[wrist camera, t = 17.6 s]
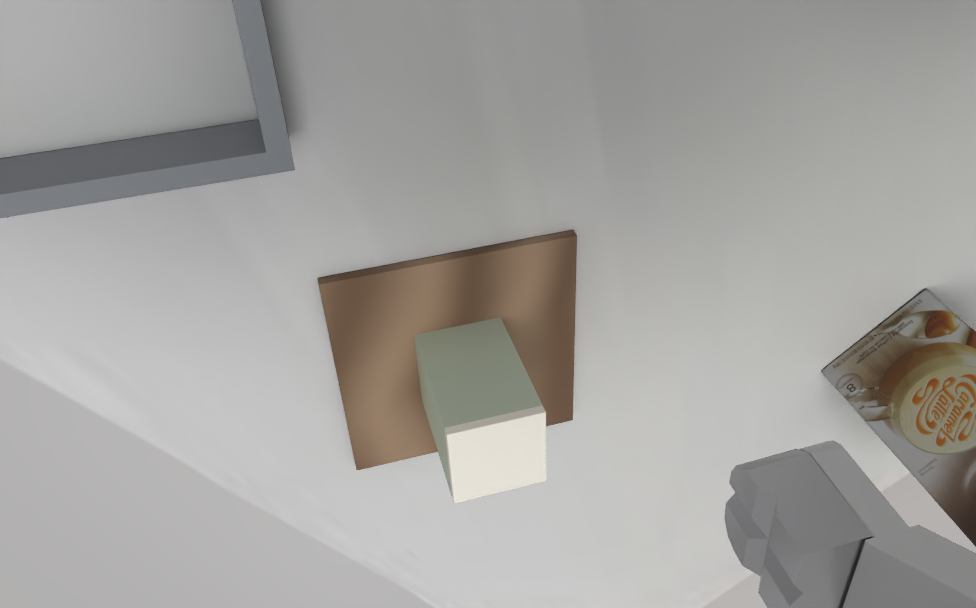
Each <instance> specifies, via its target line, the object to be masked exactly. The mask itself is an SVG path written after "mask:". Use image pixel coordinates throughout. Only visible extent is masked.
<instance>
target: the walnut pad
mask: <svg viewBox="0 0 976 608" xmlns="http://www.w3.org/2000/svg"><path fill="white" fill-rule="evenodd" d="M576 248H577V235H576V234H575V232H574V231H573V230H571V231H566V232H560V233H555V234H550V235H544V236H539V237H534V238H528V239H523V240H518V241H513V242H507V243H502V244H497V245H491V246H486V247H481V248H475V249H470V250H465V251H460V252H454V253H449V254H444V255H438V256H433V257H428V258H422V259H417V260H412V261H407V262H401V263H396V264H391V265H385V266H380V267H375V268H370V269H364V270H359V271H354V272H348V273H343V274H338V275H332V276H327V277H322V278H318V283H319V288H320V293H321V298H322V303H323V308H324V313H325V318H326V322H327V327H328V332H329V337H330V342H331V347H332V352H333V356H334V361H335V366H336V371H337V376H338V381H339V386H340V391H341V395H342V400H343V405H344V410H345V415H346V420H347V425H348V430H349V434H350V439H351V444H352V449H353V454H354V459H355V464H356V469H357V470H361V469H365V468H369V467H374V466H378V465H382V464H387V463H391V462H395V461H399V460H404V459H408V458H412V457H416V456H421V455H425V454H429V453H434V452H438V450H437V447H436V443H435V440H434V437H433V434H432V431H431V427H430V424H429V421H428V418H427V414H426V411H425V408H424V405H423V402H422V395H421V387H420V379H419V371H418V363H417V355H416V347H415V339H414V335H417V334H422V333H427V332H432V331H437V330H441V329H446V328H451V327H456V326H461V325H466V324H471V323H475V322H480V321H485V320H490V319H495V318H500V317H501V319H502V321H503V323H504V326H505V328H506V330H507V332H508V334H509V336H510V338H511V340H512V342H513V344H514V346H515V349H516V351H517V353H518V355H519V357H520V359H521V361H522V363H523V365H524V367H525V369H526V372H527V374H528V376H529V378H530V380H531V382H532V384H533V386H534V388H535V390H536V393H537V395H538V397H539V399H540V401H541V403H542V405H543V407H544V409H545V411H546V426H549V425H553V424H558V423H562V422H566V421H570V420H573V381H574V337H575V292H576Z"/></svg>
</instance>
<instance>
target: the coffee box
mask: <svg viewBox="0 0 976 608" xmlns="http://www.w3.org/2000/svg"><path fill="white" fill-rule="evenodd" d="M822 373H823V375H824V376H825V377H826V378H827V379H828V380H829V381H830V382H831V383H832V385H833V386H834V387H835V388H836V389H837V390H838V391H839V392H840V393H841V395H842V396H843V397H844V398H845V399H846V400H847V401H848V402H849V404H850V405H851V406H852V407H853V408H854V409H855V411H856V412H857V413H858V414H859V415H860V416H861V417H862V419H863V420H864V421H865V422H866V423H867V424H868V425H869V426H870V428H871V429H872V430H873V431H874V432H875V433H876V434H877V435H878V437H879V438H880V439H881V440H882V441H883V442H884V443H885V445H886V446H887V447H888V448H889V449H890V450H891V451H892V452H893V453H894V454H895V456H896V457H897V458H898V459H899V460H900V461H901V462H902V463H903V465H904V466H905V467H906V468H907V469H908V470H909V471H910V472H911V474H912V475H913V476H914V477H915V478H916V479H917V480H918V481H919V483H920V484H921V485H922V486H923V487H924V488H925V489H926V491H927V492H928V493H929V494H930V495H931V496H932V497H933V499H934V500H935V501H936V502H937V503H938V504H939V506H940V507H941V508H942V509H943V510H944V511H945V512H946V513H947V515H948V516H949V517H950V518H951V519H952V520H953V521H954V522H955V523H956V525H957V526H958V527H959V528H960V529H961V530H962V532H963V533H964V534H965V535H966V536H967V537H968V538H969V539H970V541H971V542H972V543H973V544H974V545H975V546H976V331H974V330H973V329H972V328H971V327H969V326H968V325H967V324H966V323H965V322H963V321H962V320H961V319H960V318H959V317H957V316H956V315H955V314H954V313H952V312H951V311H950V310H949V309H948V308H947V307H946V306H945V305H944V304H943V303H942V302H941V301H939V300H938V299H937V298H936V297H935V296H934V294H933V293H931V292H930V291H929V290H924V291H923V292H922V293H920V294H919V295H918V296H916V297H915V298H914V299H913V300H911V301H910V302H909V303H907V304H906V305H905V306H904V307H902V308H901V309H900V310H898V311H897V312H896V313H895V314H893V315H892V316H891V317H889V318H888V319H887V320H886V321H884V322H883V323H882V324H881V325H879V326H878V327H877V328H876V329H874V330H873V331H872V332H870V333H869V334H868V335H867V336H865V337H864V338H863V339H861V340H860V341H859V342H858V343H856V344H855V345H854V346H852V347H851V348H850V349H849V350H847V351H846V352H845V353H844V354H842V355H841V356H840V357H838V358H837V359H836V360H835V361H833V362H832V363H831V364H829V365H828V366H827V367H826V368H825V369H824V370H823V371H822Z"/></svg>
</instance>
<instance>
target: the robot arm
mask: <svg viewBox="0 0 976 608" xmlns="http://www.w3.org/2000/svg"><path fill="white" fill-rule="evenodd" d="M729 483H730V485H731V486H732V488H733V489H734V491H735V494H734V495H733V496H732V497H731V498H730V499H729V500H728V502H727V503H726V509H725V523H726V528H727V533H728V537H729V540H730V542H731V545H732V547H733V549H734V552H735V553H736V555H737V557H738V559H739V560H740V562H741V564H742V565H743V566H744V567H746V568H747V569H749V570H751V571H753V572H754V573H756V574H758V575H759V576H760V584H759V591H758V593H759V594H760V596H761V597H762V599H763V601H764V602H765V604H766V606H767V608H976V553H974V552H972V551H970V550H968V549H966V548H964V547H962V546H960V545H958V544H956V543H954V542H952V541H950V540H948V539H946V538H944V537H941V536H940V535H938V534H936V533H934V532H932V531H930V530H928V529H926V528H924V527H922V526H920V525H917V526H913V527H909V526H908V525H907V524H906V523H905V522H904V520H903V519H902V518H901V517H900V515H899V514H898V513H897V512H896V511H895V509H894V508H893V507H892V506H891V505H890V503H889V502H888V501H887V500H886V499H885V497H884V496H883V495H882V494H881V492H880V491H879V490H878V489H877V488H876V486H875V485H874V484H873V483H872V482H871V480H870V479H869V478H868V477H867V476H866V474H865V473H864V472H863V471H862V469H861V468H860V467H859V466H858V465H857V463H856V462H855V461H854V460H853V459H852V457H851V456H850V455H849V454H848V453H847V451H846V450H845V449H844V448H843V446H842V445H840V444H839V443H837V442H835V441H826V442H823V443H819V444H816V445H812V446H809V447H805V448H802V449H794V450H790V451H786V452H783V453H779V454H776V455H772V456H769V457H765V458H762V459H758V460H754V461H751V462H747V463H744V464H740V465H737V466H736V467H735V468H734V469H733V470H732V471H731V477H730V482H729Z"/></svg>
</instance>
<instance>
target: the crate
mask: <svg viewBox="0 0 976 608" xmlns="http://www.w3.org/2000/svg"><path fill="white" fill-rule="evenodd" d="M232 2H233V6H234V11H235V15H236V20H237V24H238V29H239V33H240V37H241V42H242V46H243V51H244V55H245V60H246V64H247V69H248V73H249V77H250V82H251V86H252V91H253V95H254V100H255V104H256V108H257V113H258V117H259V120H253V121H246V122H240V123H233V124H227V125H220V126H213V127H207V128H200V129H193V130H187V131H180V132H174V133H167V134H160V135H154V136H147V137H141V138H134V139H127V140H121V141H114V142H107V143H101V144H94V145H88V146H81V147H74V148H68V149H61V150H55V151H48V152H41V153H35V154H28V155H21V156H15V157H8V158H2V159H0V218H4V217H10V216H16V215H23V214H29V213H35V212H41V211H47V210H53V209H59V208H65V207H71V206H78V205H84V204H90V203H96V202H102V201H108V200H114V199H120V198H126V197H133V196H139V195H145V194H151V193H157V192H163V191H169V190H175V189H181V188H188V187H194V186H200V185H206V184H212V183H218V182H224V181H230V180H237V179H243V178H249V177H255V176H261V175H267V174H273V173H279V172H285V171H292V170H295V168H294V163H293V158H292V152H291V147H290V142H289V137H288V132H287V127H286V122H285V117H284V112H283V108H282V103H281V98H280V93H279V88H278V83H277V78H276V73H275V69H274V64H273V59H272V54H271V49H270V44H269V39H268V34H267V30H266V25H265V20H264V15H263V10H262V5H261V0H232Z"/></svg>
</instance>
